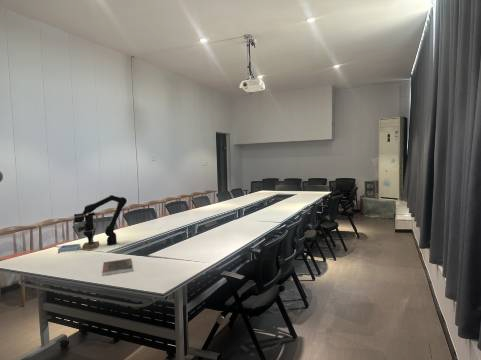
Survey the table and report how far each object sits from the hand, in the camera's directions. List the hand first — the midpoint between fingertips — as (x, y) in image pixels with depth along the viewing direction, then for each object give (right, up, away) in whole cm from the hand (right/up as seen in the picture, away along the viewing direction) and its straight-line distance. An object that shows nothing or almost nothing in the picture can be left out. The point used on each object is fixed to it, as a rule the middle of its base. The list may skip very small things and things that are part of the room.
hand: (90, 241), depth 243 cm
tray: (-14, -6, -4) cm, 16 cm away
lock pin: (0, -4, 0) cm, 4 cm away
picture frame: (+41, -7, -51) cm, 66 cm away
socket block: (0, -5, 0) cm, 5 cm away
